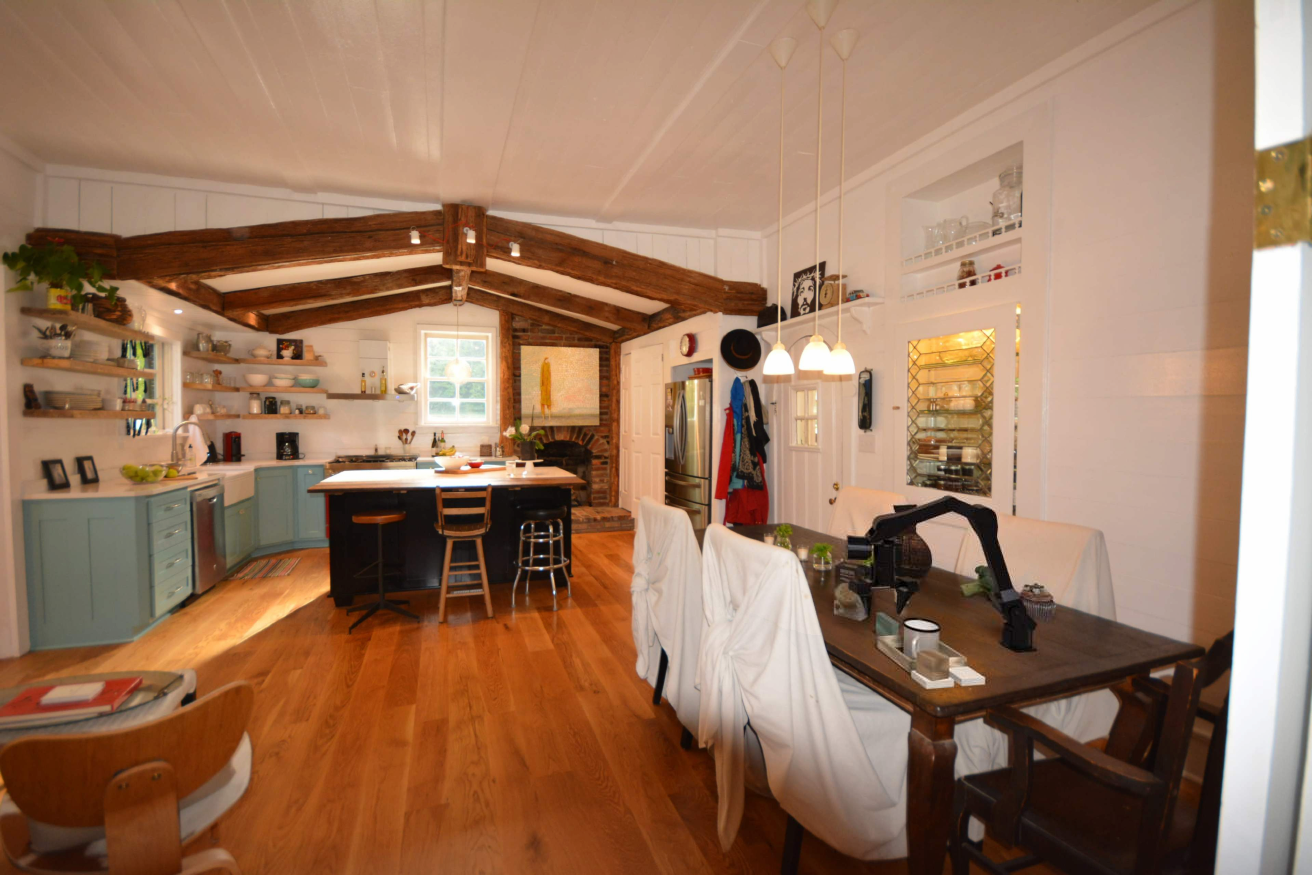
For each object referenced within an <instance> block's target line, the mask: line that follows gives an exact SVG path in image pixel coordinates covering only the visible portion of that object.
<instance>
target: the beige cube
mask: <svg viewBox="0 0 1312 875" xmlns="http://www.w3.org/2000/svg"><path fill="white" fill-rule="evenodd" d="M916 673H918V674H920V675H922V676H923V677H925V678H927V679H929V680H930V681H938V680H943V679H948V678H949V657H948V656H946V655H944V654H942V653H940V652H938V651H936V650H934V649H931V650H925V651H919V652H916Z"/></svg>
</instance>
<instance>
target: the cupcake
mask: <svg viewBox="0 0 1312 875" xmlns="http://www.w3.org/2000/svg"><path fill="white" fill-rule="evenodd" d="M1019 596H1020V598H1021V599H1022V601H1023V603H1024V605H1025V607H1026V609H1027V614H1028V615H1029V616H1030V617H1031V618H1032V619H1036V620H1035V621H1038V620H1045V621H1044V622H1049V621H1048V620H1051V621H1053V620H1054V616H1055V611H1056V607H1057V603H1056V602H1055V601H1054V600H1053V599H1054V598H1055V597H1054V596H1053V595H1052V594H1051V593H1050V591H1049V590H1048V589H1046V588H1045V586H1044V585H1041V584H1040V585H1039V584H1038V583H1034V584H1028V583H1027V584H1024V585H1023V586H1022V590H1021V591H1020V595H1019ZM1052 619H1053V620H1052Z"/></svg>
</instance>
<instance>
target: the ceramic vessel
mask: <svg viewBox="0 0 1312 875" xmlns="http://www.w3.org/2000/svg"><path fill="white" fill-rule="evenodd" d="M892 507H893V510H894V513H900V512H904V511H907V510H910V509H913V508H916V507H918V504H916V503H913V504H898V505H897V504H893V505H892ZM917 525H918V524H915V525H912V526H910V527H908V528H907V529H905V530H904V531H903V532H902V533H900V534H898V535H896V537H897V538H898V540H899V541H900V542H901V543H902V544H903V546H902V547H897V546H895V566H897V570H895V579H896V578H897V577H910V578H912V579H914V580H916V581H917V582H918V583H919V584H921V583H922V581H923V580H925V579H926V577H927V576H928V574H929V573H930V571H931V569H932V566H933V554H932V551H931V549H930V546H929V545H928V544H927V542H926V541H925V540H924V538H922V536H921V535H919V533H918V532H917ZM891 539H892V538H891Z"/></svg>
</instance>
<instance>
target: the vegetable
mask: <svg viewBox="0 0 1312 875" xmlns="http://www.w3.org/2000/svg"><path fill="white" fill-rule="evenodd" d="M974 572H975V574H977V579H975V581H974V582H967V583H962V584H961V585H960V589H961V591H962V594H963V595H964V597H965V598H966V597H971V596H972V595H975V594H976V593H978V594H982V595H985V596H986V595H987V597H988V599H990V601H991V602H992V600H991V598H990V596H989V593H994V583H993V580H992V577H991V574H990V571H989V568H988V565H984V564H983V565H981V564H980V565H978V566H975V568H974Z"/></svg>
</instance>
